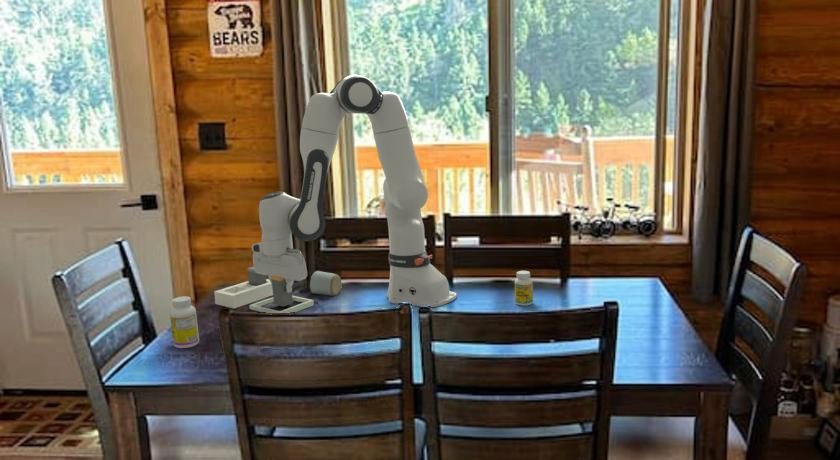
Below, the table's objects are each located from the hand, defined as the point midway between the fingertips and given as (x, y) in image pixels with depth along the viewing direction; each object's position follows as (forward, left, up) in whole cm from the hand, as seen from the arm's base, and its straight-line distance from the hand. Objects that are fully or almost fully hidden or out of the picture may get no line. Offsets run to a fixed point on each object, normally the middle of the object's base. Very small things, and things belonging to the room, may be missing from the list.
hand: (282, 290), depth 219 cm
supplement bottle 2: (-60, -42, -6) cm, 73 cm away
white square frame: (0, 0, -6) cm, 6 cm away
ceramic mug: (0, -19, -6) cm, 20 cm away
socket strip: (+16, 0, -6) cm, 17 cm away
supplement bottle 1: (0, +34, -6) cm, 35 cm away
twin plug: (+16, -4, -5) cm, 18 cm away
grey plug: (0, 0, -4) cm, 4 cm away
